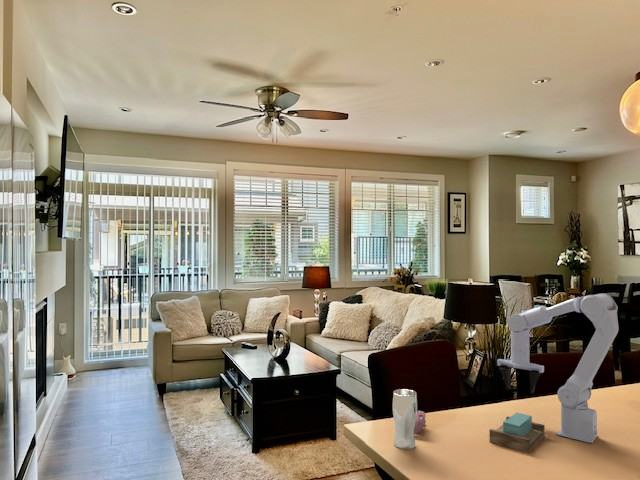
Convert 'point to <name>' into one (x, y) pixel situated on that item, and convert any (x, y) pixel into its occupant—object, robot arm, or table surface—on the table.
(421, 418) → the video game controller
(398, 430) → the beer glass
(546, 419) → the table surface
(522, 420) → the teal rectangular block
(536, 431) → the display stand
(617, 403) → the table surface
